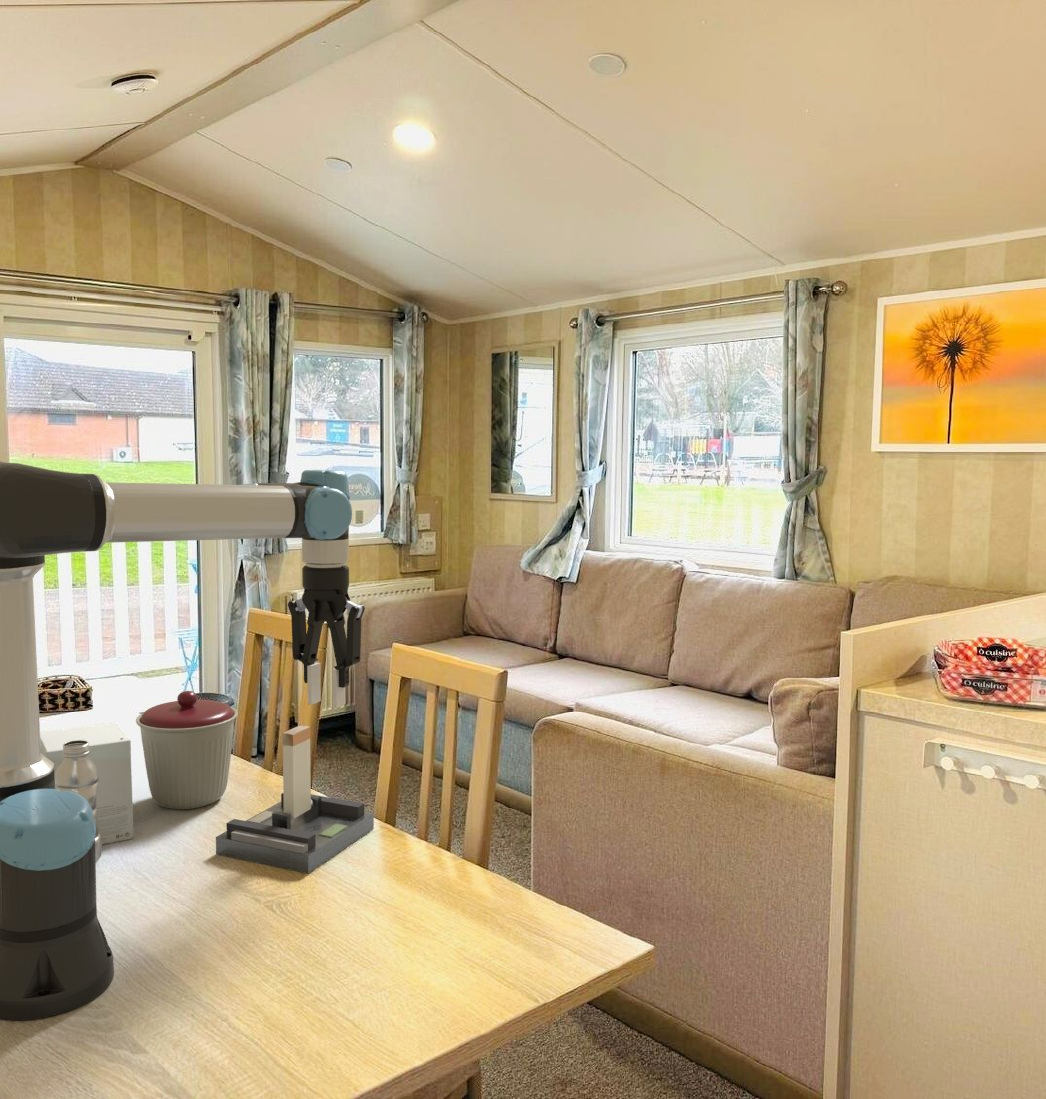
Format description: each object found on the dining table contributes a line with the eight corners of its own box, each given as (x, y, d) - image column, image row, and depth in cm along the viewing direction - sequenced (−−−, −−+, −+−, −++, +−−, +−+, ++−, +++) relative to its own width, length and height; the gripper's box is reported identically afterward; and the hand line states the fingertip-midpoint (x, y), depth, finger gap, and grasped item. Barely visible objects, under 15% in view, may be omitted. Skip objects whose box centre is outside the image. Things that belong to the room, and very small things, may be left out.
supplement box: (119, 814, 178) (117, 720, 176) (134, 839, 167) (132, 739, 165) (39, 828, 171) (35, 731, 169) (49, 855, 160) (45, 751, 158)
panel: (308, 873, 154) (308, 834, 154) (216, 854, 161) (215, 816, 160) (373, 828, 173) (373, 793, 172) (288, 813, 180) (288, 778, 179)
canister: (243, 810, 181) (242, 699, 178) (138, 823, 174) (135, 707, 172) (234, 779, 197) (232, 677, 195) (137, 789, 191) (135, 683, 188)
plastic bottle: (86, 875, 153) (82, 751, 150) (47, 871, 154) (43, 747, 152) (111, 859, 159) (107, 739, 157) (74, 854, 160) (70, 736, 158)
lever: (289, 822, 163) (289, 736, 161) (279, 820, 164) (278, 734, 162) (314, 808, 169) (314, 725, 168) (304, 806, 170) (303, 723, 169)
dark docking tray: (303, 853, 155) (303, 841, 155) (221, 837, 161) (221, 825, 160) (364, 814, 172) (364, 803, 171) (287, 800, 178) (287, 790, 177)
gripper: (383, 565, 160) (383, 704, 163) (295, 559, 166) (296, 693, 169) (359, 570, 153) (359, 715, 156) (267, 563, 160) (269, 703, 162)
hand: (326, 704), depth 162 cm, fingers open, 4 cm apart
